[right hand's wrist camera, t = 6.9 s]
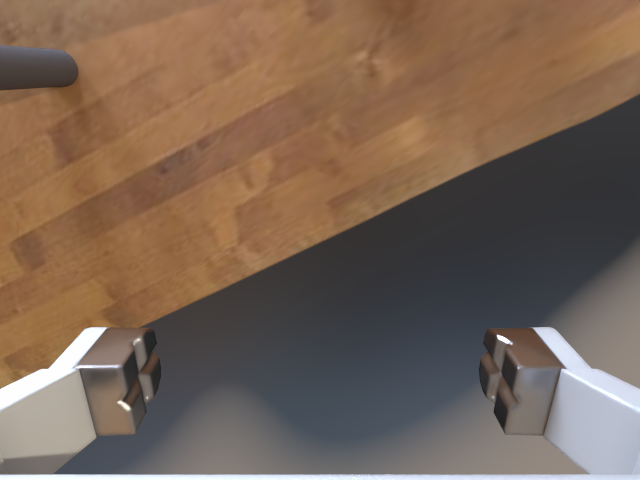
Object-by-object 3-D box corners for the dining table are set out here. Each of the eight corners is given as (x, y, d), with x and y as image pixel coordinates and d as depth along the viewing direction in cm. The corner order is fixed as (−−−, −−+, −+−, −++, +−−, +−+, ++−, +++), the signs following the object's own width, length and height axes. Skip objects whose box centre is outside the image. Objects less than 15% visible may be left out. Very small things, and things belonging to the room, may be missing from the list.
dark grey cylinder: (45, 84, 53) (-93, 91, 35) (40, 47, 52) (-107, 35, 34) (79, 88, 53) (-42, 96, 36) (75, 51, 52) (-53, 41, 34)
